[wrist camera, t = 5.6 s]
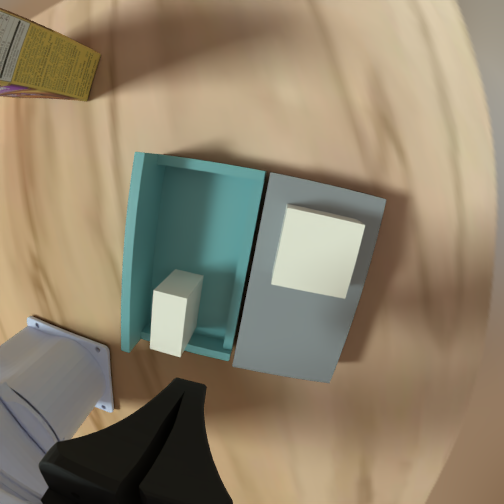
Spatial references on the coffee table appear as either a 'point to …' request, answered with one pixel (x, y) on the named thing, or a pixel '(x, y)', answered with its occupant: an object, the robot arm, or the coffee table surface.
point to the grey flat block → (297, 301)
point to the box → (189, 243)
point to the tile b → (317, 251)
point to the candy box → (42, 61)
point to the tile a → (175, 312)
